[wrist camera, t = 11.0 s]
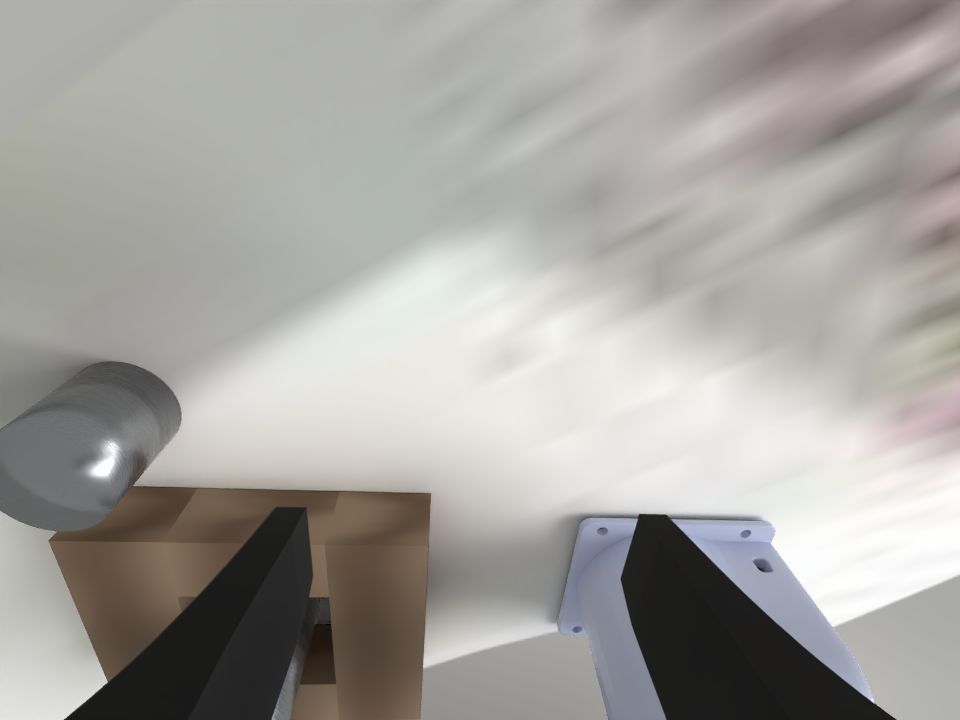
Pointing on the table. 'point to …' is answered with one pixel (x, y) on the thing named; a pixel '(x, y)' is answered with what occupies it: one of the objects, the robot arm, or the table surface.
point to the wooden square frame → (336, 574)
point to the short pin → (84, 446)
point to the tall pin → (297, 663)
